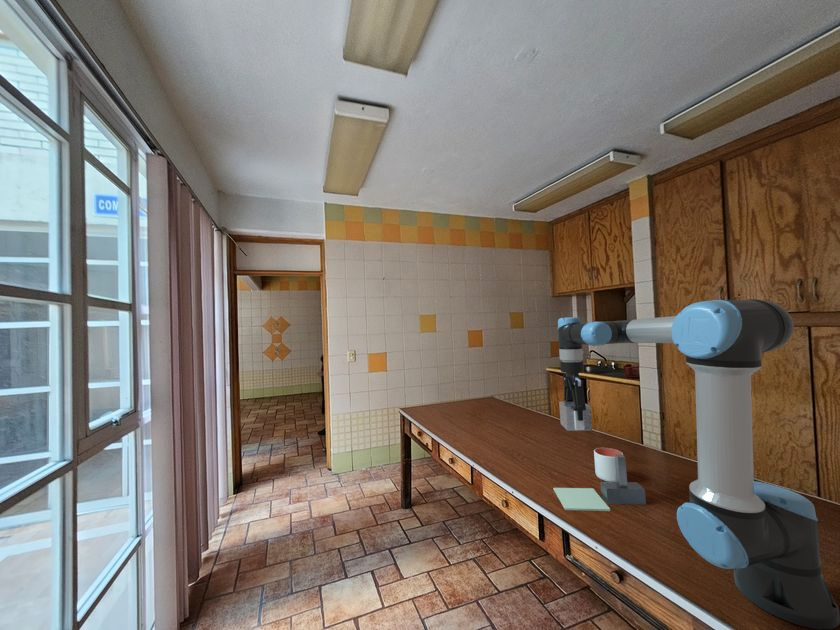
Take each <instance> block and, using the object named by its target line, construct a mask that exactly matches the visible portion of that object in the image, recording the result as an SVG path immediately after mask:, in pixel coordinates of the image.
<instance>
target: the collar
mask: <svg viewBox="0 0 840 630" xmlns="http://www.w3.org/2000/svg"><path fill="white" fill-rule="evenodd" d="M558 405H559V406H558V407H559V419H560V425H561V426H562V427H563V428H564V429H565V430H566V431H573V432H575V431H578V432H582V431H583V432H584V431H589V432H591V431H593V421H592V420H593V419H592V406H590V405H589V404H587V403H586V402H585V405H586V410H584V411H583V412H584V427H585V430H576V429H575V413H574V411H573V409H575V405H574V402H565V401H559V402H558Z"/></svg>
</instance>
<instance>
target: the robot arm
mask: <svg viewBox="0 0 840 630" xmlns="http://www.w3.org/2000/svg"><path fill="white" fill-rule="evenodd" d="M794 326H795V324H794V321H793V317H792V316H791V315H790V313H789V312H788V311H787V310H786V309H785V308H784V307H782V306H781V305H779V304H777V303H775V302H772V301H769V300H764V299H759V298H758V299H757V298H749V299H713V300H712V299H711V300H705V301H697V302H694V303H691V304H689V305H687V306H686V307H684V308H683V309H682V310H681V311H680V312H679V313H677V314H676V315H673V316H664V317H663V316H661V317H651V318H637V319H626V320H614V321H613V320H612V321H610V320H609V321H588V322H586V321H584V322H582V320H581V318H580V317H577V316H576V317H575V316H573V317H572V316H571V317H560V318H559V319H558V320H557V334H558V335H557V337H558V346H559V347H558V350H559V351H558V352H559V355H558V356H559V360H560V362H559V365H560V366H559V367H560V368H559V369H560V372H561V373H565V374H563V376H562V378H563V400H564V401H563V402H574V405H575V409H573V411H574V413H575V429H576V430H585V427H584V412H583V411H584V410H586V405H585V403H586V398H585V390H584V379H581V377H580V373H581V374H582V373H583V372H585V366H584V365H585V364H584V362H583V361H584V356H583V355H584V353H585V351H584V350H583V346H592V347H596V346H597V347H598V346H605V345H613V344H615V345H616V344H617V345H618V344H674V346H675V347H677V350H678V351H679V352H680V353H682V354H683V355H685V364H686V365H687V366H689V367H690V368H691V369H692V370H693V371H694V376H695V377H694V379H695V380H694V381H695V383H694V385H695V414H696V415H695V416H696V417H695V418H696V420H695V421H696V442H697V443H696V446H697V447H696V449H697V451H696V452H697V453H696V454H697V479H696V480H694V481H692V482H690V484H689V486H688V487H689V488H688V489H689V492H688V493H689V494H688V495H689V502H683V504H682V505H680V506H679V507H678V508H677V510H676V521H677V525H678V528H679V530H680V531H681V533H682V535H683V537H684V538H685V540H686V541H687V543H688V544H689V546H690V547H691V548H692V549H693V550H694V551H695V552H696V553H697V554H698V555H699V556H700V557H701V558H703V559H704V560H706V562H708V563H710V564H711V565H713V566H716V567H718V568H721V569H725V570H726V569H727V570H733V578H734V584H735V586H736V588H737V589H738V591H739V592H740V593H741V595H743V596H744V597H745V598H746V599H747V600H749V601H750V602H751V603H752V604H754V605H755V606H757V607H758V608H760V609H762V610H763V611H765V612H767V613H769V614H771V615H773V616H774V617H777V618H778V619H781V620H784V621H786V622H788V623H792V624H795V625H798V626H801V627H805V628H808V629H815V630H822V629H827V630H833V629H835V628H837V627H839V626H840V609H839V606H838V604H837V602H836V599H835V598H834V596H833V594H832V591H831V590H830V587H829V586H828V584H827V582H826V580H825V578H824V576H823V573H822V561H821V551H820V539H819V528H818V526H819V525H818V522H819V518H817V514H816V508H815V505H814V503H813V502H812V501H810V499H808V498H807V497H805V496H803V495H801V494H799V493H797V492H795V491H792V490H791V489H787V488H784V487H781V486H778V485H774V484H770V483H766V482H762V481H755V479H754V478H755V477H754V474H755V473H754V446H753V445H754V444H753V443H754V442H753V441H754V440H753V439H754V438H753V437H754V436H753V409H752V408H753V405H752V403H753V401H752V375H753V374H755V373H756V372H757V371H759V370H760V369H762V354H765V353H770V352H773V351H775V350H777V349H780V348H781V347H783V346H785V345H786V343H787V342H789V341H790V339H791V338H792V335H793V334H794V330H795V328H794Z"/></svg>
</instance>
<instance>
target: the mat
mask: <svg viewBox="0 0 840 630" xmlns="http://www.w3.org/2000/svg"><path fill="white" fill-rule="evenodd" d="M553 492H554V494H556V496H557V498H558V500H559V502H560V503H561V505H562V507H563V509H564V511H585V512H586V511H587V512H588V511H590V512H591V511H592V512H611V508H610V507H609V506H608V504H607V503H606V501H605V500H604V499H603V498H602V496H600V495H599V493H597V491H596V490H595V488H592V487H590V488H589V487H553Z"/></svg>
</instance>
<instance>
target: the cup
mask: <svg viewBox="0 0 840 630" xmlns="http://www.w3.org/2000/svg"><path fill="white" fill-rule="evenodd" d="M615 454H622V455H623V456H624V454H623V452H622V451H620V450H618V449H615V448H610V447H597V448H595V449H594V450H593V456H594V457H593V458H594V471H595V475H596V477H597V478H598V479H600V480H602V481H603V482H616V468H615Z"/></svg>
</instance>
